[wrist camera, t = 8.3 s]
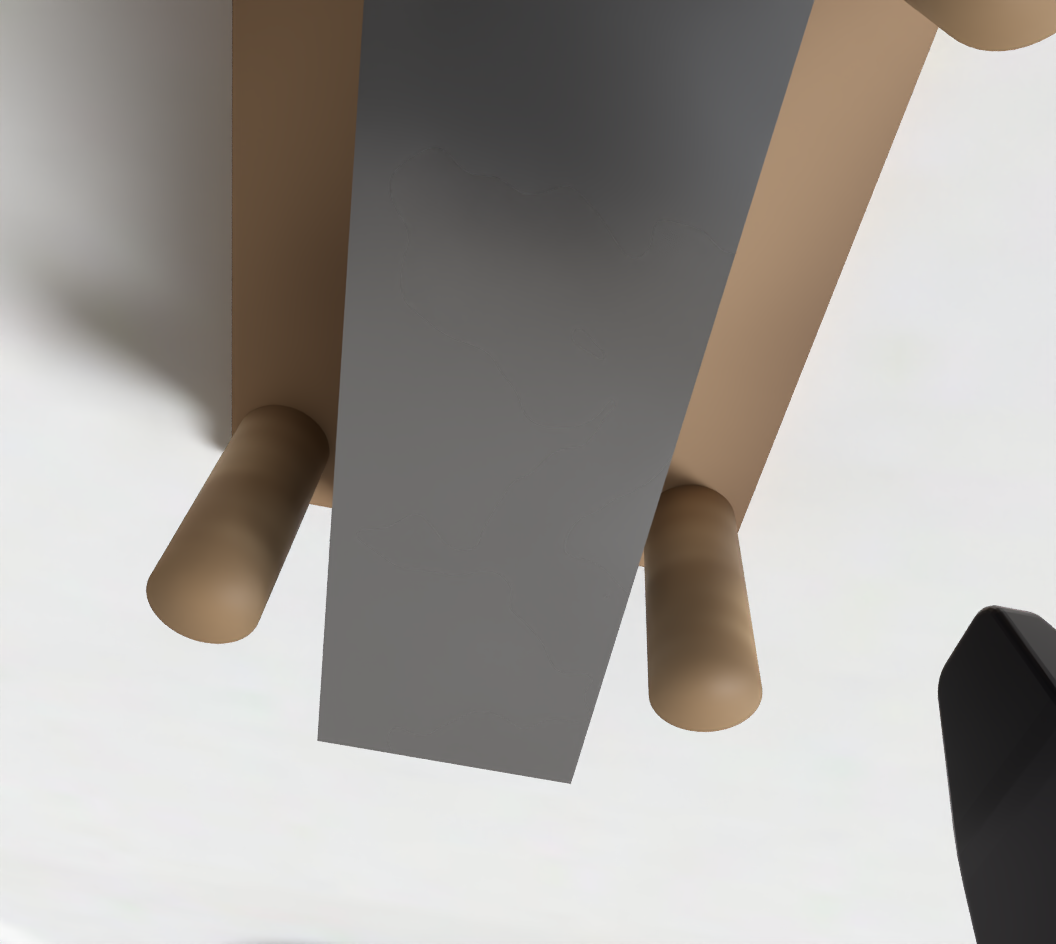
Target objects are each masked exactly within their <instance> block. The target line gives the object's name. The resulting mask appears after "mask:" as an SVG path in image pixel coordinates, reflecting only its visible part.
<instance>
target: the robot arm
mask: <svg viewBox="0 0 1056 944" xmlns="http://www.w3.org/2000/svg"><path fill="white" fill-rule="evenodd" d="M938 701H939V710H940V718H941V727H942V735H943V744H944V753H945V761H946V770H947V778H948V787H949V795H950V804H951V813H952V821H953V830H954V837H955V843H956V850H957V856H958V861H959V866H960V871H961V876H962V881H963V886H964V890H965V894H966V899H967V903H968V907H969V912H970V916H971V920H972V925H973V929H974V933H975V938H976V942H977V944H1056V629H1054V628H1053V627H1052V626H1051V625H1050V624H1049V623H1047V622H1046V621H1045V620H1044V619H1043V618H1041V617H1040V616H1039V615H1036V614H1034V613H1032V612H1028V611H1023V610H1017V609H1012V608H1007V607H1001V606H996V605H993V606H988V607H985V608H983V609H982V610H981V611H979V612H978V614H977V615H976V616H975V617H974V619H973V621H972V622H971V624H970V625H969V627H968V629H967V630H966V632H965V633H964V635H963V637H962V638H961V640H960V641H959V643H958V645H957V646H956V648H955V649H954V651H953V653H952V654H951V656H950V657H949V659H948V661H947V662H946V664H945V666H944V668H943V670H942V672H941V675H940V679H939V684H938Z"/></svg>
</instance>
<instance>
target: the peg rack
mask: <svg viewBox="0 0 1056 944" xmlns="http://www.w3.org/2000/svg"><path fill="white" fill-rule="evenodd" d="M363 7H364V0H232V438H231V440H230V442H229V443H228V445H227V447H226V448H225V450H224V452H223V454H222V455H221V457H220V459H219V460H218V462H217V464H216V465H215V467H214V469H213V470H212V472H211V474H210V476H209V477H208V479H207V481H206V482H205V484H204V486H203V487H202V489H201V491H200V492H199V494H198V496H197V498H196V499H195V501H194V503H193V504H192V506H191V508H190V509H189V511H188V513H187V514H186V516H185V518H184V520H183V521H182V523H181V525H180V526H179V528H178V530H177V531H176V533H175V535H174V536H173V538H172V540H171V542H170V543H169V545H168V547H167V548H166V550H165V552H164V553H163V555H162V557H161V558H160V560H159V562H158V564H157V565H156V567H155V569H154V570H153V572H152V574H151V575H150V577H149V579H148V582H147V587H146V593H147V599H148V602H149V604H150V606H151V608H152V610H153V611H154V613H155V614H156V615H157V617H158V618H159V619H160V620H161V621H162V622H163V623H164V624H165V625H167V626H168V627H169V628H171V629H172V630H174V631H175V632H177V633H179V634H181V635H183V636H185V637H188V638H190V639H193V640H196V641H200V642H205V643H214V644H222V643H230V642H234V641H238V640H240V639H243V638H244V637H246V636H248V635H249V634H250V633H251V632H252V631H253V630H254V629H255V628H256V626H257V624H258V622H259V620H260V618H261V615H262V613H263V611H264V608H265V606H266V604H267V601H268V599H269V597H270V594H271V592H272V590H273V587H274V585H275V583H276V580H277V578H278V576H279V573H280V571H281V569H282V566H283V564H284V562H285V559H286V557H287V555H288V552H289V550H290V548H291V545H292V543H293V541H294V538H295V536H296V534H297V531H298V529H299V527H300V524H301V522H302V520H303V517H304V515H305V513H306V510H307V508H308V506H309V504H313V505H318V506H324V507H329V508H332V501H333V485H334V469H335V453H336V437H337V421H338V405H339V389H340V373H341V358H342V342H343V326H344V310H345V294H346V278H347V262H348V246H349V230H350V214H351V198H352V182H353V166H354V150H355V134H356V118H357V102H358V86H359V70H360V54H361V39H362V23H363ZM938 27H939V28H941V29H942V30H943V31H945V32H946V33H947V34H948V35H950V36H951V37H953V38H954V39H956V40H957V41H958V42H960V43H963V44H965V45H967V46H969V47H973V48H976V49H979V50H986V51H1007V50H1015V49H1019V48H1022V47H1026V46H1029V45H1032V44H1034V43H1037V42H1040V41H1042V40H1043V39H1045V38H1047V37H1049V36H1051V35H1053V34H1054V33H1056V0H814V3H813V6H812V10H811V13H810V16H809V19H808V22H807V26H806V29H805V32H804V35H803V38H802V42H801V45H800V48H799V51H798V55H797V58H796V61H795V64H794V67H793V71H792V74H791V77H790V80H789V84H788V87H787V90H786V93H785V96H784V100H783V103H782V106H781V109H780V112H779V116H778V119H777V122H776V125H775V129H774V132H773V135H772V138H771V141H770V145H769V148H768V151H767V154H766V157H765V161H764V164H763V167H762V170H761V174H760V177H759V180H758V183H757V186H756V190H755V193H754V196H753V199H752V202H751V206H750V209H749V212H748V215H747V219H746V222H745V225H744V228H743V231H742V235H741V238H740V241H739V244H738V247H737V251H736V254H735V257H734V260H733V264H732V267H731V270H730V273H729V276H728V280H727V283H726V286H725V289H724V293H723V296H722V299H721V302H720V305H719V309H718V312H717V315H716V318H715V321H714V325H713V328H712V331H711V334H710V338H709V341H708V344H707V347H706V350H705V354H704V357H703V360H702V363H701V366H700V370H699V373H698V376H697V379H696V383H695V386H694V389H693V392H692V395H691V399H690V402H689V405H688V408H687V411H686V415H685V418H684V421H683V424H682V428H681V431H680V434H679V437H678V440H677V444H676V447H675V450H674V453H673V456H672V460H671V463H670V466H669V469H668V473H667V476H666V479H665V482H664V485H663V489H662V492H661V495H660V498H659V502H658V505H657V508H656V511H655V514H654V518H653V521H652V524H651V527H650V530H649V534H648V537H647V540H646V543H645V547H644V550H643V553H642V556H641V559H640V563H639V566H642V567H645V597H646V628H647V658H648V688H649V700H650V703H651V706H652V708H653V709H654V711H655V712H656V713H657V714H658V715H659V716H660V717H661V718H662V719H663V720H665V721H666V722H668V723H670V724H671V725H674V726H676V727H679V728H682V729H685V730H690V731H697V732H712V731H719V730H724V729H727V728H730V727H733V726H736V725H738V724H740V723H742V722H743V721H745V720H746V719H748V718H749V717H750V716H751V715H752V714H753V713H754V712H755V711H756V710H757V708H758V706H759V705H760V702H761V699H762V685H761V679H760V673H759V666H758V660H757V654H756V647H755V641H754V635H753V628H752V622H751V616H750V610H749V603H748V597H747V591H746V584H745V578H744V572H743V565H742V559H741V553H740V546H739V540H738V534H737V533H738V531H739V528H740V526H741V523H742V521H743V518H744V516H745V513H746V511H747V508H748V506H749V503H750V501H751V498H752V496H753V493H754V491H755V488H756V485H757V483H758V480H759V478H760V475H761V473H762V470H763V468H764V465H765V463H766V460H767V458H768V455H769V453H770V450H771V448H772V445H773V443H774V440H775V438H776V435H777V433H778V430H779V428H780V425H781V423H782V420H783V417H784V415H785V412H786V410H787V407H788V405H789V402H790V400H791V397H792V395H793V392H794V390H795V387H796V385H797V382H798V380H799V377H800V375H801V372H802V370H803V367H804V365H805V362H806V360H807V357H808V354H809V352H810V349H811V347H812V344H813V342H814V339H815V337H816V334H817V332H818V329H819V327H820V324H821V322H822V319H823V317H824V314H825V312H826V309H827V307H828V304H829V302H830V299H831V297H832V294H833V291H834V289H835V286H836V284H837V281H838V279H839V276H840V274H841V271H842V269H843V266H844V264H845V261H846V259H847V256H848V254H849V251H850V249H851V246H852V244H853V241H854V239H855V236H856V234H857V231H858V229H859V226H860V223H861V221H862V218H863V216H864V213H865V211H866V208H867V206H868V203H869V201H870V198H871V196H872V193H873V191H874V188H875V186H876V183H877V181H878V178H879V176H880V173H881V171H882V168H883V166H884V163H885V160H886V158H887V155H888V153H889V150H890V148H891V145H892V143H893V140H894V138H895V135H896V133H897V130H898V128H899V125H900V123H901V120H902V118H903V115H904V113H905V110H906V108H907V105H908V103H909V100H910V97H911V95H912V92H913V90H914V87H915V85H916V82H917V80H918V77H919V75H920V72H921V70H922V67H923V65H924V62H925V60H926V57H927V55H928V52H929V50H930V47H931V45H932V42H933V40H934V37H935V34H936V32H937V29H938Z"/></svg>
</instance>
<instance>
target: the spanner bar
mask: <svg viewBox="0 0 1056 944" xmlns="http://www.w3.org/2000/svg"><path fill="white" fill-rule="evenodd" d="M813 3H814V0H364V7H363V23H362V39H361V54H360V70H359V86H358V102H357V118H356V134H355V150H354V166H353V182H352V198H351V214H350V230H349V246H348V262H347V278H346V294H345V310H344V326H343V342H342V358H341V373H340V389H339V405H338V421H337V437H336V453H335V469H334V485H333V501H332V517H331V533H330V549H329V565H328V581H327V597H326V613H325V629H324V645H323V661H322V676H321V692H320V708H319V724H318V740H317V741H322V742H328V743H334V744H340V745H346V746H352V747H358V748H364V749H369V750H375V751H381V752H387V753H393V754H399V755H405V756H410V757H416V758H422V759H428V760H434V761H440V762H446V763H452V764H457V765H463V766H469V767H475V768H481V769H487V770H493V771H499V772H504V773H510V774H516V775H522V776H528V777H534V778H540V779H546V780H551V781H557V782H563V783H569V784H571V781H572V778H573V775H574V772H575V768H576V765H577V762H578V759H579V756H580V752H581V749H582V746H583V743H584V739H585V736H586V733H587V730H588V727H589V723H590V720H591V717H592V714H593V711H594V707H595V704H596V701H597V698H598V694H599V691H600V688H601V685H602V682H603V678H604V675H605V672H606V669H607V665H608V662H609V659H610V656H611V653H612V649H613V646H614V643H615V640H616V637H617V633H618V630H619V627H620V624H621V620H622V617H623V614H624V611H625V608H626V604H627V601H628V598H629V595H630V592H631V588H632V585H633V582H634V579H635V575H636V572H637V569H638V566H639V563H640V559H641V556H642V553H643V550H644V547H645V543H646V540H647V537H648V534H649V530H650V527H651V524H652V521H653V518H654V514H655V511H656V508H657V505H658V502H659V498H660V495H661V492H662V489H663V485H664V482H665V479H666V476H667V473H668V469H669V466H670V463H671V460H672V456H673V453H674V450H675V447H676V444H677V440H678V437H679V434H680V431H681V428H682V424H683V421H684V418H685V415H686V411H687V408H688V405H689V402H690V399H691V395H692V392H693V389H694V386H695V383H696V379H697V376H698V373H699V370H700V366H701V363H702V360H703V357H704V354H705V350H706V347H707V344H708V341H709V338H710V334H711V331H712V328H713V325H714V321H715V318H716V315H717V312H718V309H719V305H720V302H721V299H722V296H723V293H724V289H725V286H726V283H727V280H728V276H729V273H730V270H731V267H732V264H733V260H734V257H735V254H736V251H737V247H738V244H739V241H740V238H741V235H742V231H743V228H744V225H745V222H746V219H747V215H748V212H749V209H750V206H751V202H752V199H753V196H754V193H755V190H756V186H757V183H758V180H759V177H760V174H761V170H762V167H763V164H764V161H765V157H766V154H767V151H768V148H769V145H770V141H771V138H772V135H773V132H774V129H775V125H776V122H777V119H778V116H779V112H780V109H781V106H782V103H783V100H784V96H785V93H786V90H787V87H788V84H789V80H790V77H791V74H792V71H793V67H794V64H795V61H796V58H797V55H798V51H799V48H800V45H801V42H802V38H803V35H804V32H805V29H806V26H807V22H808V19H809V16H810V13H811V10H812V6H813Z"/></svg>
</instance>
